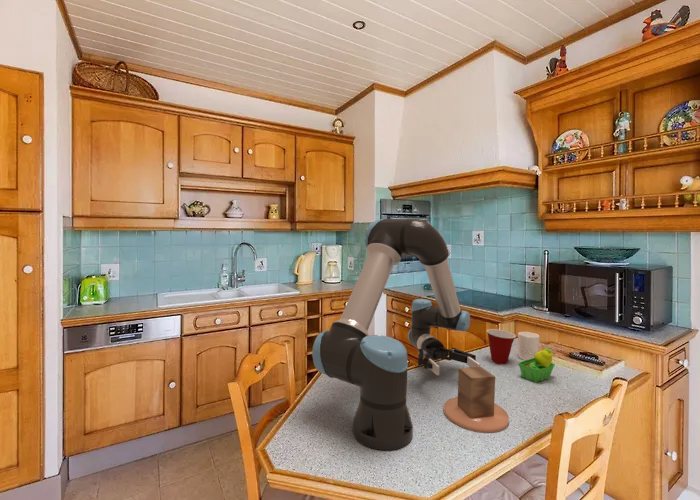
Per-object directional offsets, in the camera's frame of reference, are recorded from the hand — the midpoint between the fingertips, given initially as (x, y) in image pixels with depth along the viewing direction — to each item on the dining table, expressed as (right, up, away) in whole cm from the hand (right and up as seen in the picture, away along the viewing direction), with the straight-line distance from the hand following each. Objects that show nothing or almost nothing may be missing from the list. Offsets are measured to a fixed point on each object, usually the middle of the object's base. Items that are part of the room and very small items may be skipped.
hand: (458, 369), depth 105 cm
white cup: (+40, -8, +36) cm, 55 cm away
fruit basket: (+33, -9, +17) cm, 39 cm away
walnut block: (+2, -8, -9) cm, 13 cm away
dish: (+2, -9, -9) cm, 13 cm away
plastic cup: (+27, -8, +32) cm, 42 cm away
